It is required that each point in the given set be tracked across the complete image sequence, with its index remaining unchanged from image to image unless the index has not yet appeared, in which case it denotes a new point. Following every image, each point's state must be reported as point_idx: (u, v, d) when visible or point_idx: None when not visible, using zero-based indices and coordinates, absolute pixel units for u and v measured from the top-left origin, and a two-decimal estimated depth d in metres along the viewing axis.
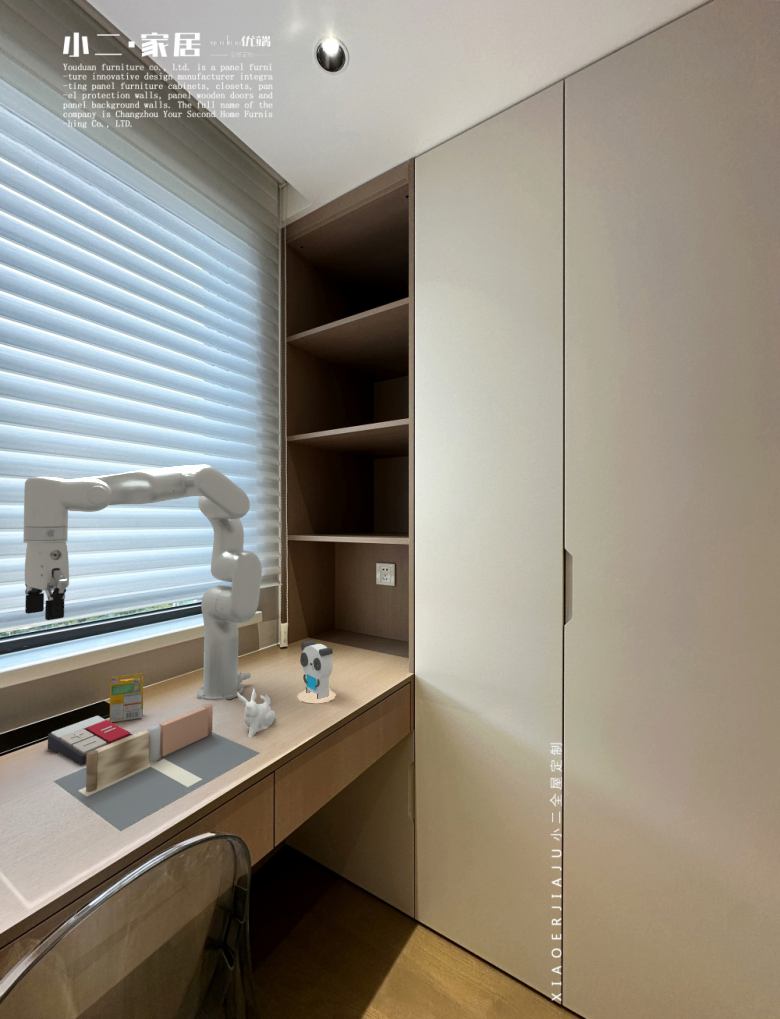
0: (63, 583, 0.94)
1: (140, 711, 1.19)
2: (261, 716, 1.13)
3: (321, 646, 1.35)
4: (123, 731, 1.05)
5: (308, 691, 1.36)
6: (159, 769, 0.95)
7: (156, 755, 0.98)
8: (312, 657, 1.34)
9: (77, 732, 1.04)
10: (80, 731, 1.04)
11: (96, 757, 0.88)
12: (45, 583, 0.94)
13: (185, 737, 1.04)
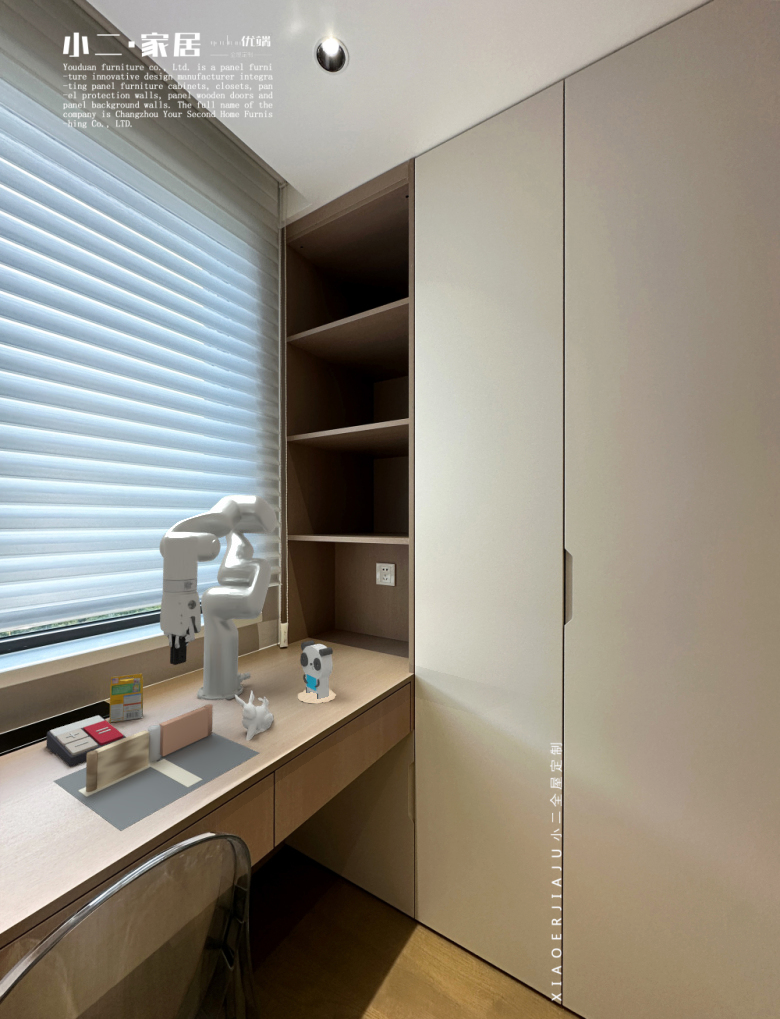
0: (191, 640, 1.08)
1: (140, 711, 1.19)
2: (259, 718, 1.11)
3: (321, 646, 1.35)
4: (117, 733, 1.04)
5: (308, 691, 1.36)
6: (159, 769, 0.95)
7: (156, 755, 0.98)
8: (312, 657, 1.34)
9: (73, 732, 1.04)
10: (76, 731, 1.04)
11: (96, 757, 0.88)
12: (184, 630, 1.06)
13: (185, 737, 1.04)
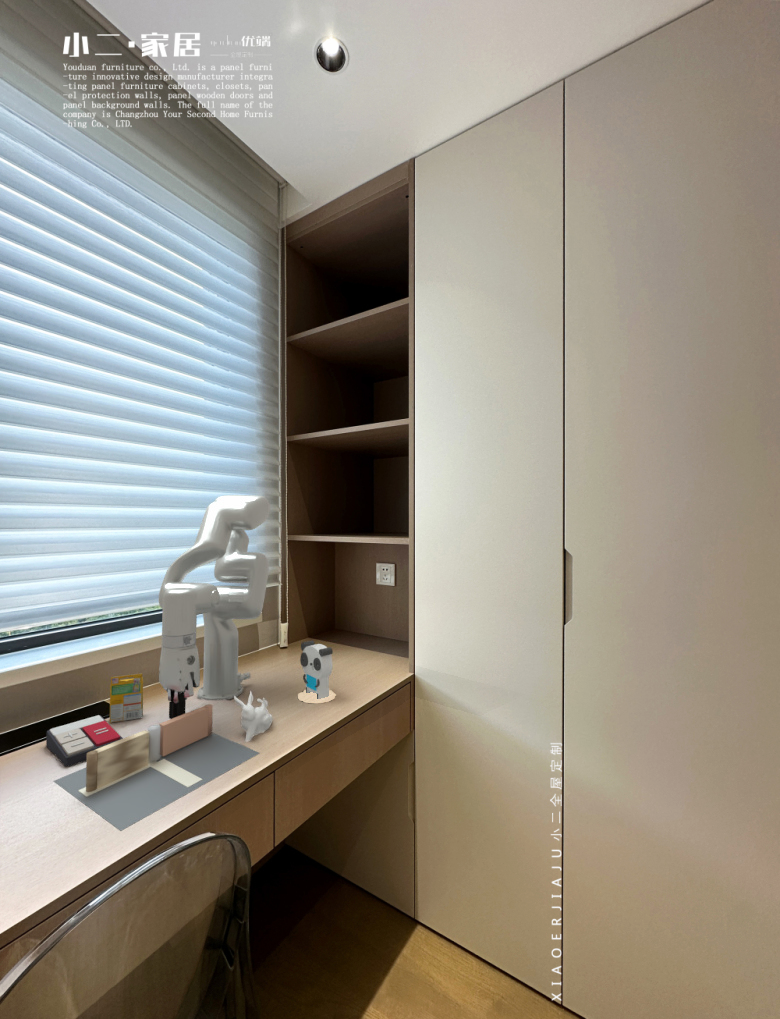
0: (190, 696, 1.08)
1: (140, 711, 1.19)
2: (258, 719, 1.11)
3: (321, 646, 1.35)
4: (114, 734, 1.04)
5: (308, 691, 1.36)
6: (159, 769, 0.95)
7: (156, 755, 0.98)
8: (312, 657, 1.34)
9: (72, 731, 1.04)
10: (75, 730, 1.05)
11: (96, 757, 0.88)
12: (183, 686, 1.06)
13: (185, 737, 1.04)
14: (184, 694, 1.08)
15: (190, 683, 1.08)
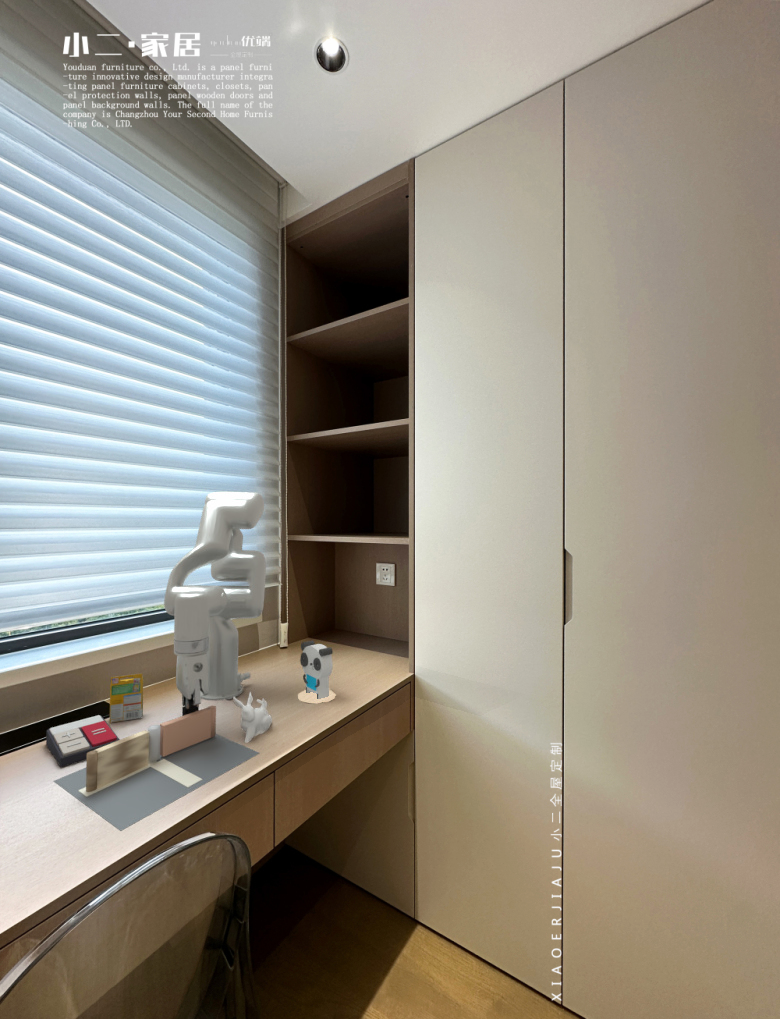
0: (197, 704, 1.04)
1: (140, 711, 1.19)
2: (257, 720, 1.10)
3: (321, 646, 1.35)
4: (111, 735, 1.04)
5: (308, 691, 1.36)
6: (159, 769, 0.95)
7: (155, 755, 0.97)
8: (312, 657, 1.34)
9: (70, 731, 1.04)
10: (74, 730, 1.05)
11: (96, 757, 0.88)
12: (189, 694, 1.03)
13: (187, 738, 1.03)
14: (192, 701, 1.05)
15: (197, 691, 1.04)
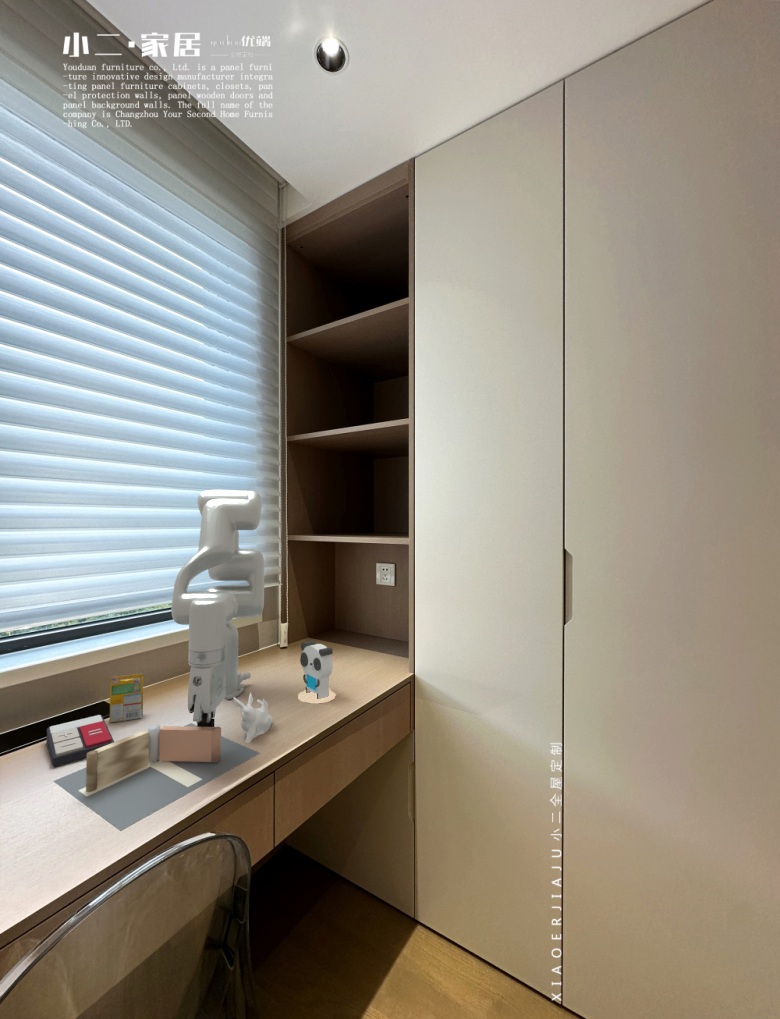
0: None
1: (140, 711, 1.19)
2: (258, 720, 1.10)
3: (321, 646, 1.35)
4: (106, 736, 1.03)
5: (308, 691, 1.36)
6: (159, 769, 0.95)
7: (150, 756, 0.97)
8: (312, 657, 1.34)
9: (68, 730, 1.05)
10: (71, 730, 1.05)
11: (96, 757, 0.88)
12: (188, 707, 0.97)
13: (184, 752, 0.97)
14: None
15: (197, 706, 0.97)
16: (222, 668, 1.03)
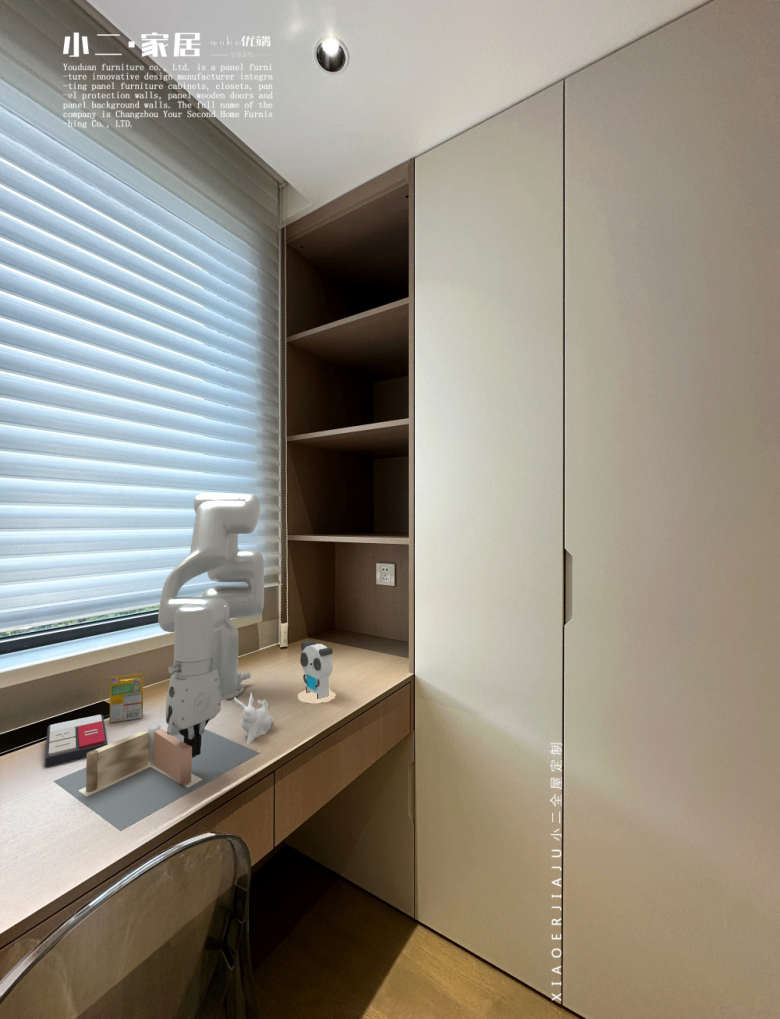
0: None
1: (140, 711, 1.19)
2: (259, 721, 1.10)
3: (321, 646, 1.35)
4: (100, 737, 1.02)
5: (308, 691, 1.36)
6: (159, 769, 0.95)
7: None
8: (312, 657, 1.34)
9: (66, 730, 1.05)
10: (69, 729, 1.05)
11: (96, 757, 0.88)
12: None
13: (166, 762, 0.93)
14: None
15: (171, 719, 0.91)
16: (210, 682, 0.95)
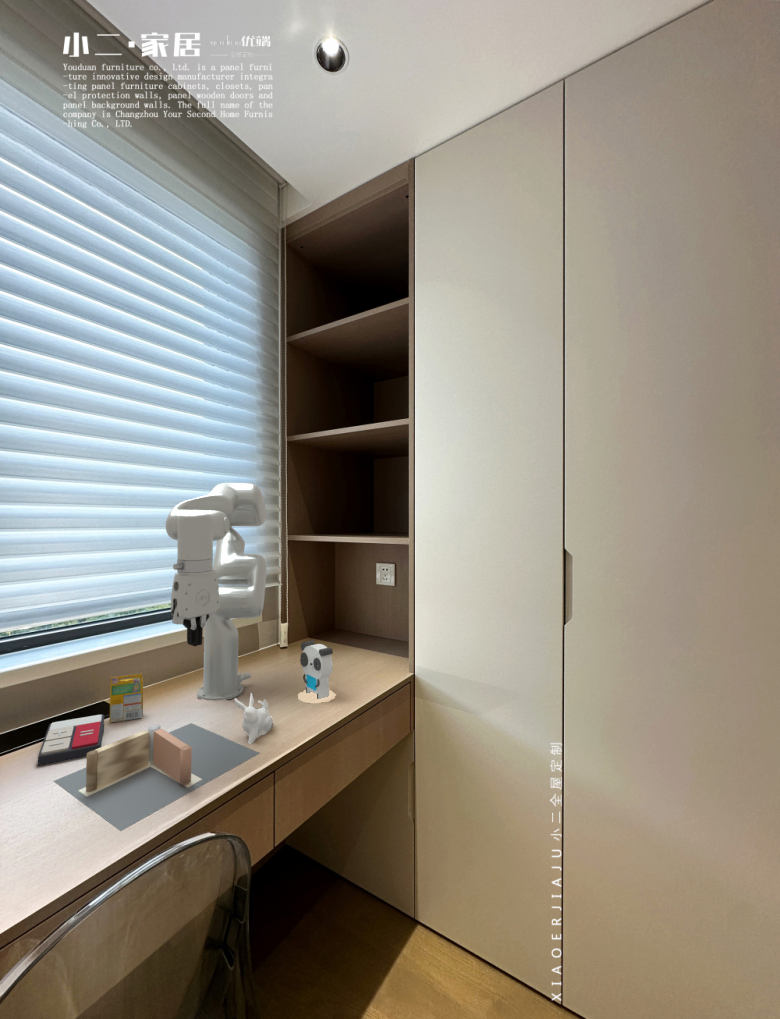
0: (175, 623, 1.03)
1: (140, 711, 1.19)
2: (260, 721, 1.10)
3: (321, 646, 1.35)
4: (94, 738, 1.02)
5: (308, 691, 1.36)
6: (159, 769, 0.95)
7: None
8: (312, 657, 1.34)
9: (65, 728, 1.05)
10: (68, 728, 1.06)
11: (96, 757, 0.88)
12: (171, 610, 1.04)
13: (166, 762, 0.93)
14: None
15: (176, 610, 1.03)
16: (210, 581, 1.07)
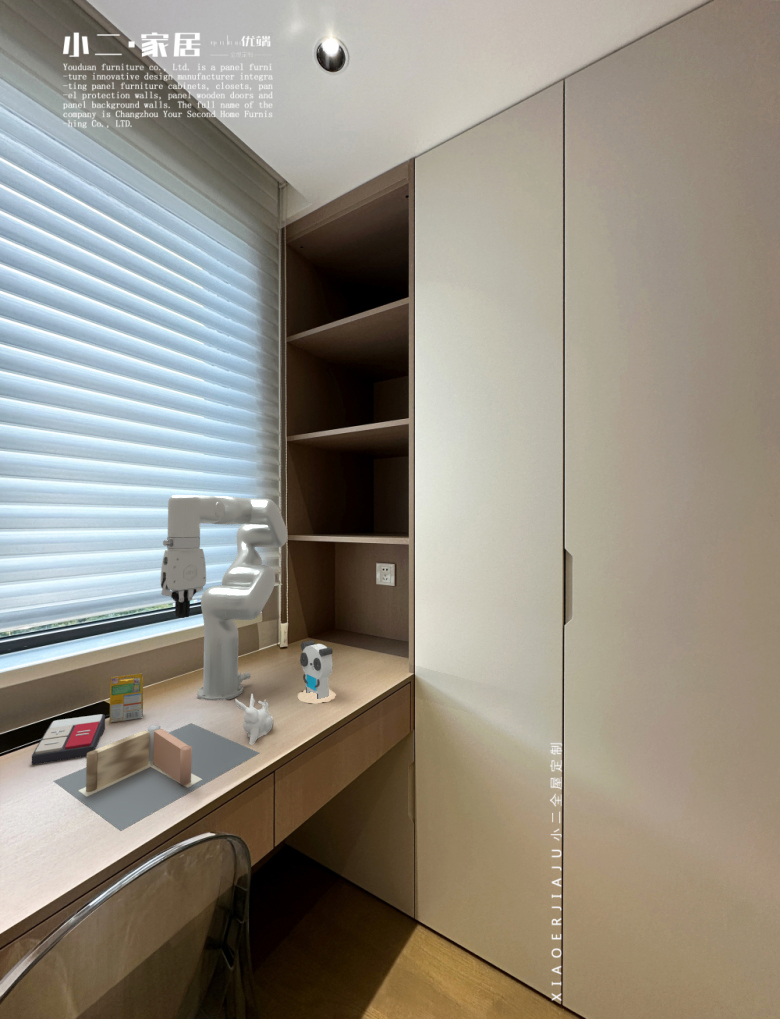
0: (164, 595, 1.12)
1: (140, 711, 1.19)
2: (261, 721, 1.10)
3: (321, 646, 1.35)
4: (88, 739, 1.02)
5: (308, 691, 1.36)
6: (159, 769, 0.95)
7: None
8: (312, 657, 1.34)
9: (63, 727, 1.06)
10: (66, 727, 1.06)
11: (96, 757, 0.88)
12: None
13: (166, 762, 0.93)
14: None
15: (165, 583, 1.13)
16: (197, 558, 1.17)
